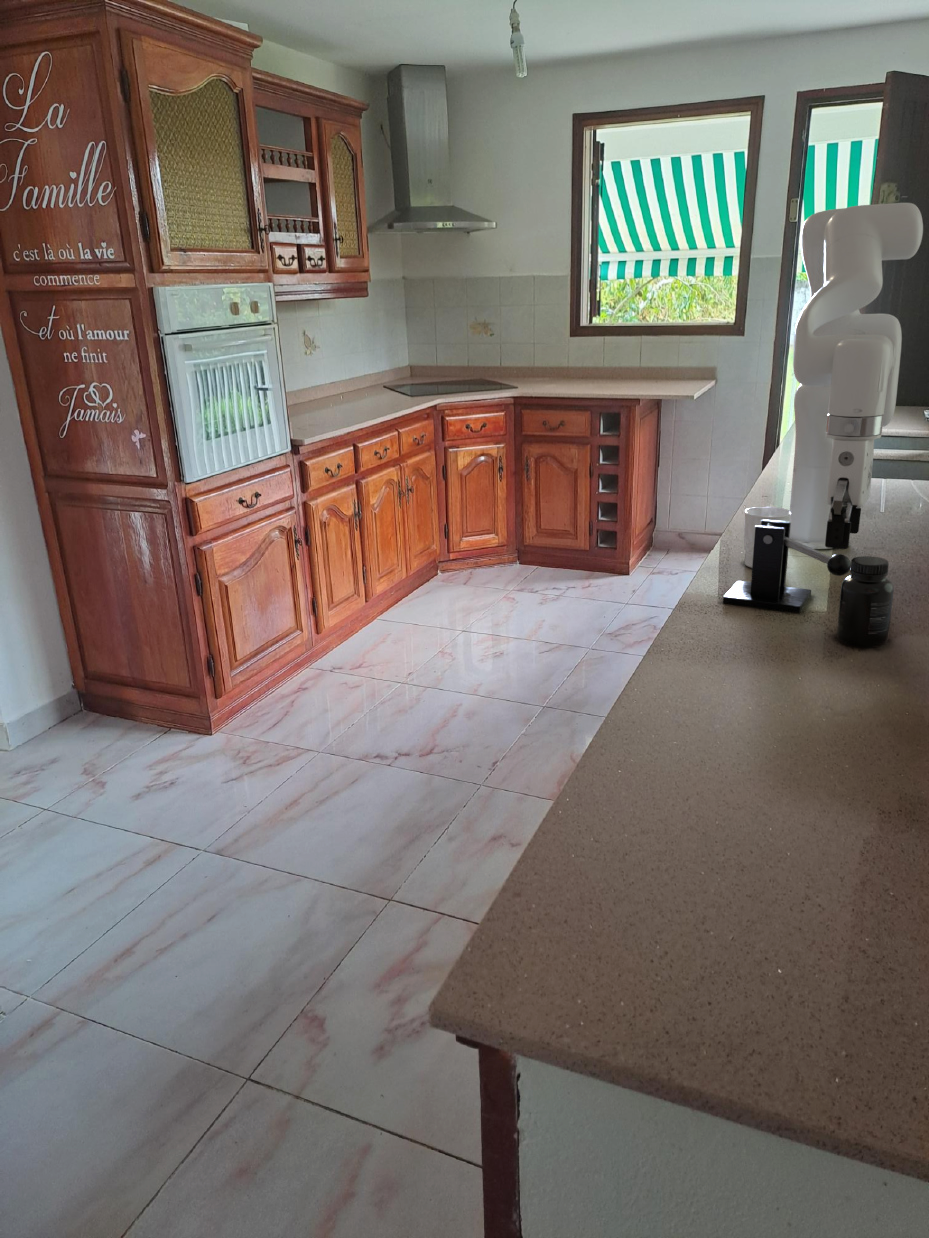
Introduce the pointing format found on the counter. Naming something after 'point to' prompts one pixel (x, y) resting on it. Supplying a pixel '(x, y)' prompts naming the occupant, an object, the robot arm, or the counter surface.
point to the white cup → (754, 518)
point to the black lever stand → (769, 574)
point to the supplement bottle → (865, 603)
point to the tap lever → (822, 557)
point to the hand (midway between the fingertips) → (841, 539)
